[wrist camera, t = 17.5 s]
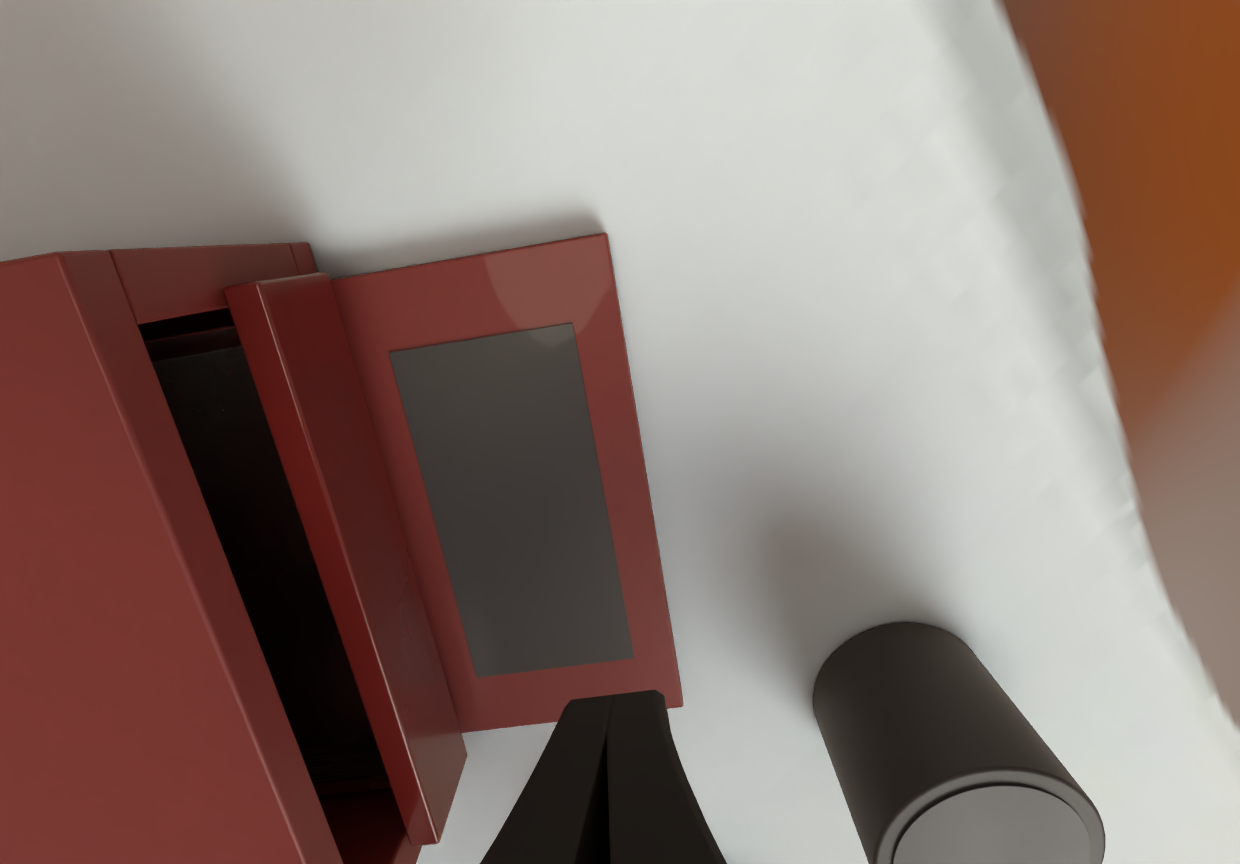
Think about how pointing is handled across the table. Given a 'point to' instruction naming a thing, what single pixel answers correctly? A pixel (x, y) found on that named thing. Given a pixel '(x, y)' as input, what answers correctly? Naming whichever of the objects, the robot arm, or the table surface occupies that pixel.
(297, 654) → the dark red drawer
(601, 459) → the red toy microwave
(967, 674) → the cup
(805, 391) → the table surface
